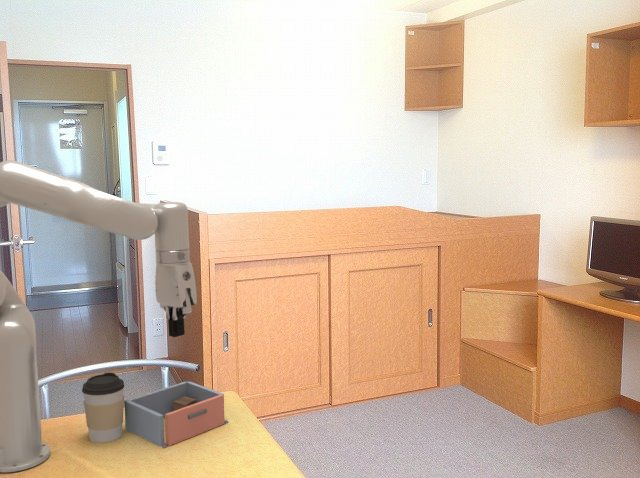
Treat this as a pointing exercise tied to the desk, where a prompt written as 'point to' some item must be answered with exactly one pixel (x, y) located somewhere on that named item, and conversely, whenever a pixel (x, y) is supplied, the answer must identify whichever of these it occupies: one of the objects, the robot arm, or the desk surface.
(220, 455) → the desk surface
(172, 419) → the tailgate
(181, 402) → the cargo block
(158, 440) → the tray
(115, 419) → the coffee cup
